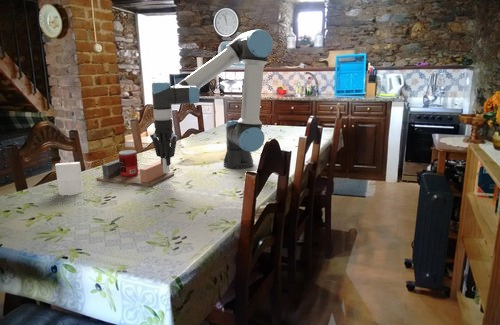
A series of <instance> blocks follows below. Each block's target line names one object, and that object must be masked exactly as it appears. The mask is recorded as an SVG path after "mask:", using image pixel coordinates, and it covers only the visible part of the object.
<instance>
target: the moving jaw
mask: <svg viewBox="0 0 500 325" xmlns="http://www.w3.org/2000/svg"><path fill="white" fill-rule="evenodd" d="M139 170H140V177H141V182H144V183H147V182H150V181H152V180H154V179H156V178H158V177H160V176H162V175H164V174H166V173H163V165H162V164H161V160H158V161H156V162H153V163H151V164H148V165H147V166H144V167H141V168H140V169H139Z"/></svg>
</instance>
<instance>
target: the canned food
mask: <svg viewBox="0 0 500 325" xmlns="http://www.w3.org/2000/svg"><path fill="white" fill-rule="evenodd" d="M118 160H119V163H120V173H121V176H122V177H133V176H136V175H138V170H139V166H138V155H137V150H135V149H125V150H120V151H119V152H118Z"/></svg>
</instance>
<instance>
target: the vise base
mask: <svg viewBox="0 0 500 325" xmlns="http://www.w3.org/2000/svg"><path fill="white" fill-rule="evenodd" d="M101 169H102V176H98V177H96V181H100V182H107V183H114V184H115V183H117V184H124V185H125V184H126V185H133V186H141V187H150V188H152V187H154V186H156V185H159V184H161V183H162V182H164V181H166V180H168V179H170V178H172V177H174V176H175V173H173V172H168V173H166V174H164V175H162V176H160V177H158V178H156V179H154V180H152V181H150V182H147V183H144V182H141V177H140V169H138V175H136V176H133V177H122V176H121V173H120V163H119V159H115V160H113V161H111V162H108V163H103V164H102V165H101Z"/></svg>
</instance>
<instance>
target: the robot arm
mask: <svg viewBox="0 0 500 325" xmlns="http://www.w3.org/2000/svg"><path fill="white" fill-rule="evenodd" d="M273 48H274V41H273V38H272V36H271V34H270V33H269V32H268V31H266V30H265V29H261V28H260V29H252V30H249V31H244V32H243V33H241V34H240V35H238V36H237V37H236V38H235V39H233V40H232V41H231V42H229V43H228V44H227V45H226V46H225V49H224V50H222V51H221V52H220V53H218V54H217V55H216V56H214V57H213V58H212V59H210V60H209V61H207V62H206V63H205V64H203V65H202V66H201V67H199V68H197V69H196V70H195V71H193V72H192V73H190V75H189V74H188V75H187V76H186V77H185V78H184V79H182V80H181V81H179V82H178V83H176V84H174V85H172V86H171V82H170V81H153V83H152V85H151V95H152V104H153V105H152V106H153V109H152V110H153V119H154V121H153V122H154V126H153V127H154V128H155V129H154V133H152V134H150V135H149V137H150V139H151V140H152V143H153V148H154V151H155V155H156V157H159V158H160V161H161V164H162V165H163V173H171V171H170V166H171V163H172V162H171V158H173V157H175V154H176V153H175V152H176V149H177V148H176V147H177V141H178V138H179V135H176V134H175V133H174V130H173V112H172V111H173V110H172V105H192V104H198V103H199V102H200V89H201V88H202V87H204V86H205V85H207V84H209V82H211V81H212V80H213V79H215V78H216V77H218V76H219V75H220V74H222V73H223V72H225V71H226V70H227V69H229V68H230V67H231V66H233V65H234V64H239V63H241V62H243V64H244V72H243V85H242V96H241V97H242V98H241V111H240V118H239V119H237V120H228V121H226V124H225V125H226V126H225V129H226V130H225V133H226V135H225V136H226V138H225V139H226V153H225V155H224V159H223V167H226V168H229V169H237V168H240V169H246V168H247V169H248V168H251V167H252V166H254V159H253V156H252V153H253V152H256V151H258V150H259V149H261V148H262V147H263V145H264V143H265V134H264V132H263V129H262V128H263V123H262V121H261V120H260V112H261V103H262V101H261V100H262V89H263V79H264V78H263V77H264V68H265V66H266V65H267V64H268V63H269V62H268V61H269V55H271V53H272V51H273Z"/></svg>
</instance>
